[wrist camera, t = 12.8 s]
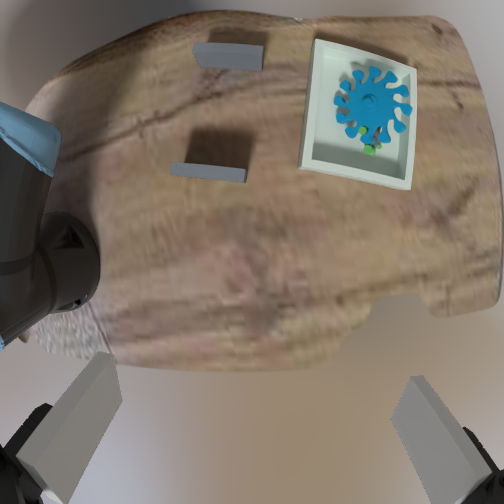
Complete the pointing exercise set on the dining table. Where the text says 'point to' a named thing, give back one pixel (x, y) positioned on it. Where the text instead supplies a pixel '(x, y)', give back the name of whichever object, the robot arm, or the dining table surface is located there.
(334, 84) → the parts tray
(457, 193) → the dining table surface
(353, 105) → the gear
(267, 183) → the dining table surface
